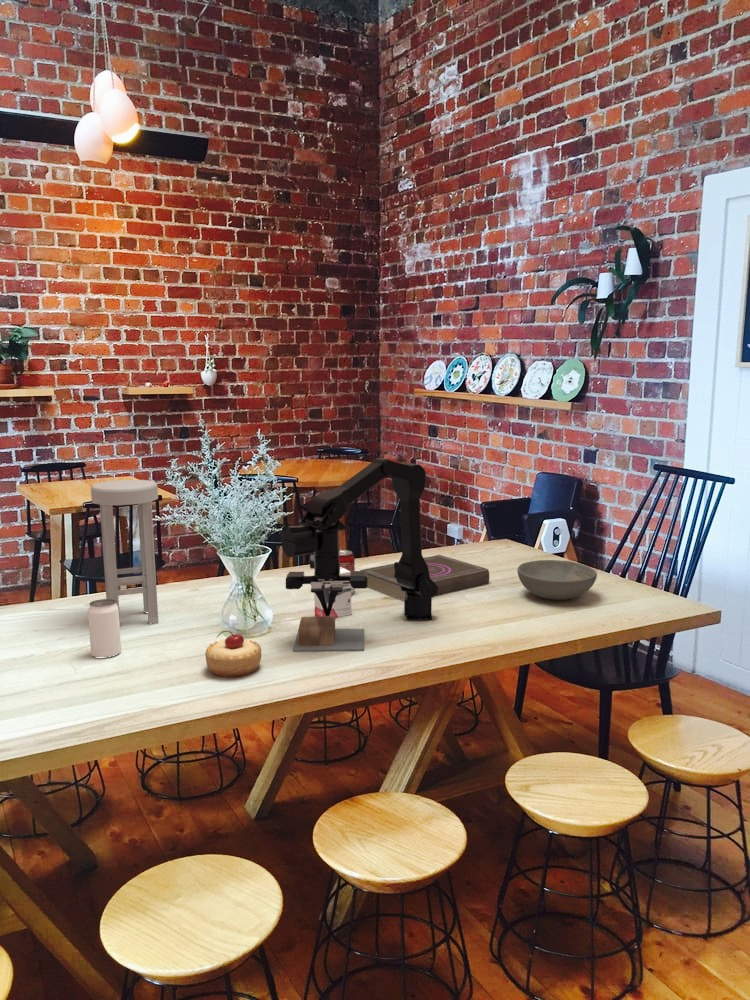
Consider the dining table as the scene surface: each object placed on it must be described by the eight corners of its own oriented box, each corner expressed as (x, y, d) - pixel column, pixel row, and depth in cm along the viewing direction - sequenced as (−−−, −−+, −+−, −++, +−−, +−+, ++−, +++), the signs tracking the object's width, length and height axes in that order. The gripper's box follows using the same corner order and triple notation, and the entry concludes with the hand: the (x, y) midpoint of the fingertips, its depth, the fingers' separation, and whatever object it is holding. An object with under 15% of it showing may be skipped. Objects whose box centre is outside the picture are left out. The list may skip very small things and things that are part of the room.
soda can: (359, 594, 223) (359, 552, 221) (339, 598, 219) (338, 556, 217) (346, 589, 229) (346, 548, 227) (326, 593, 225) (325, 551, 223)
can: (97, 648, 182) (93, 598, 180) (125, 648, 182) (122, 598, 180) (86, 659, 176) (82, 606, 174) (115, 659, 176) (112, 606, 174)
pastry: (265, 678, 166) (265, 638, 164) (208, 684, 163) (207, 642, 161) (257, 656, 177) (257, 618, 176) (203, 661, 174) (202, 622, 172)
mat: (364, 630, 194) (364, 628, 193) (364, 650, 180) (364, 649, 180) (298, 630, 193) (298, 629, 193) (293, 651, 180) (293, 649, 179)
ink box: (323, 620, 201) (322, 575, 199) (314, 615, 205) (313, 571, 203) (352, 614, 206) (351, 570, 204) (342, 609, 210) (341, 566, 208)
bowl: (569, 583, 233) (570, 557, 231) (611, 603, 213) (612, 574, 212) (504, 590, 226) (504, 563, 225) (541, 612, 207) (542, 582, 205)
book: (439, 570, 251) (439, 554, 250) (489, 585, 233) (489, 569, 232) (360, 586, 233) (360, 569, 232) (407, 604, 215) (407, 586, 214)
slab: (335, 616, 190) (300, 616, 190) (333, 628, 181) (297, 629, 181) (335, 632, 191) (301, 632, 191) (333, 645, 182) (298, 646, 182)
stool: (168, 624, 199) (160, 486, 193) (102, 633, 193) (93, 490, 187) (159, 607, 213) (152, 477, 207) (98, 614, 207) (89, 481, 201)
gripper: (367, 542, 191) (367, 604, 194) (289, 543, 191) (290, 605, 193) (367, 553, 180) (367, 619, 183) (284, 554, 180) (286, 620, 182)
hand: (327, 615), depth 186 cm, fingers closed
